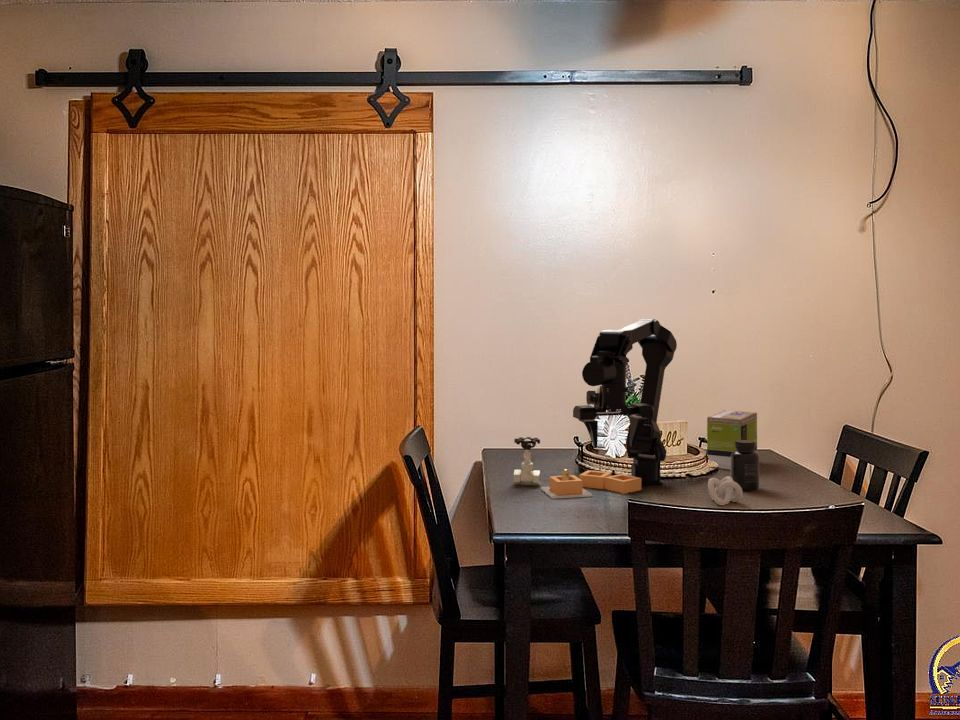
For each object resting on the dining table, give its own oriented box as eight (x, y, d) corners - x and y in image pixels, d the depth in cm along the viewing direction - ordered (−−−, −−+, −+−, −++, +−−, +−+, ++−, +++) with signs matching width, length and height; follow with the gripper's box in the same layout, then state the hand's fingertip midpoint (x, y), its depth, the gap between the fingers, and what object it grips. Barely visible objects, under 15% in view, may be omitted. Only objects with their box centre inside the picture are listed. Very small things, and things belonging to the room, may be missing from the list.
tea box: (723, 458, 239) (724, 409, 238) (757, 462, 234) (759, 411, 233) (705, 467, 227) (706, 415, 226) (741, 471, 221) (742, 418, 220)
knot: (701, 498, 192) (702, 474, 192) (735, 498, 192) (736, 474, 192) (709, 506, 185) (710, 481, 184) (745, 506, 184) (745, 481, 184)
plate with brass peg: (578, 487, 204) (578, 464, 203) (591, 496, 194) (592, 472, 194) (540, 489, 202) (540, 466, 201) (552, 498, 192) (552, 474, 192)
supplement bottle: (760, 486, 203) (761, 439, 202) (757, 492, 197) (758, 444, 196) (732, 484, 206) (733, 438, 205) (728, 490, 200) (729, 442, 199)
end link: (573, 486, 202) (574, 475, 201) (582, 492, 195) (582, 480, 195) (549, 488, 200) (549, 476, 200) (557, 494, 194) (557, 482, 194)
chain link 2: (622, 485, 206) (622, 473, 205) (641, 490, 200) (641, 478, 200) (604, 489, 202) (604, 477, 201) (623, 493, 197) (623, 481, 196)
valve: (538, 488, 202) (538, 441, 201) (512, 487, 204) (512, 440, 203) (541, 483, 209) (541, 437, 208) (516, 482, 210) (516, 436, 209)
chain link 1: (587, 481, 210) (588, 470, 210) (611, 483, 207) (611, 472, 207) (579, 486, 205) (579, 474, 204) (603, 489, 202) (603, 477, 201)
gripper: (636, 378, 202) (636, 439, 203) (565, 380, 198) (565, 443, 199) (655, 382, 191) (654, 447, 192) (581, 385, 187) (580, 451, 188)
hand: (613, 447), depth 193 cm, fingers open, 9 cm apart
